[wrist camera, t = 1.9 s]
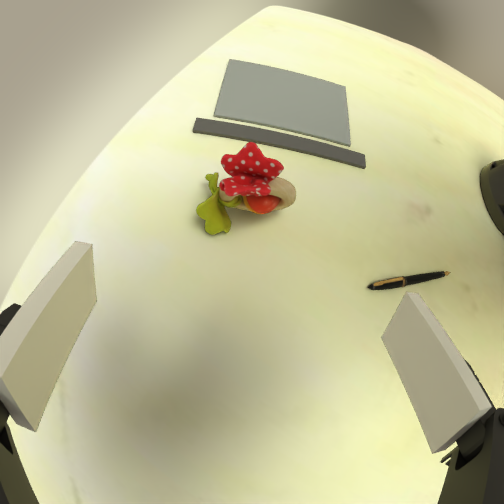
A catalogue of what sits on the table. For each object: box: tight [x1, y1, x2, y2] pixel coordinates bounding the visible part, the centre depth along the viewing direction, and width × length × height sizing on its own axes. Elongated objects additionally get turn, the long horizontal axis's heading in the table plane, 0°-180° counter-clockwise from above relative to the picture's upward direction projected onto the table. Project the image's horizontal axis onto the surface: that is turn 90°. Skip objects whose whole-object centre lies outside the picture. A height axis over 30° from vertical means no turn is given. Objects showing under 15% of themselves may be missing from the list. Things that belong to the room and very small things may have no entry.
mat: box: [193, 59, 366, 169], centre depth 38 cm, size 22×15×1 cm
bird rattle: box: [196, 142, 296, 235], centre depth 28 cm, size 6×11×9 cm
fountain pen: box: [368, 271, 451, 290], centre depth 34 cm, size 14×1×2 cm, turn 97°
